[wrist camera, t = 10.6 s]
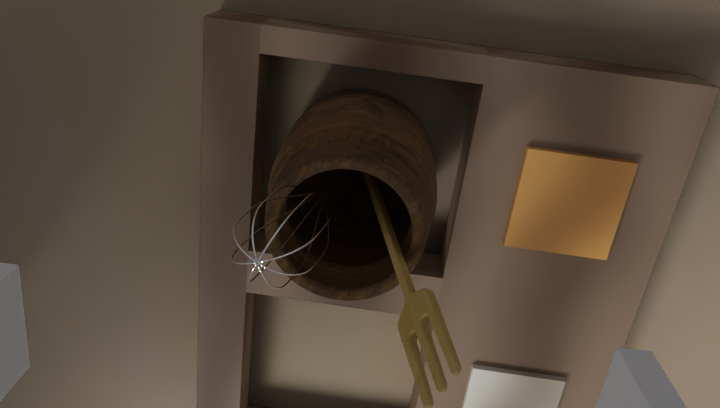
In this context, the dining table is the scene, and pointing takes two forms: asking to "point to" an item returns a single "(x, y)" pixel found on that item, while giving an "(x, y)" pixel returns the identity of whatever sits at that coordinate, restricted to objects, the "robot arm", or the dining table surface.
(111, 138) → the dining table surface
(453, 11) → the dining table surface
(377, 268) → the utensil holder
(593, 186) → the socket board
